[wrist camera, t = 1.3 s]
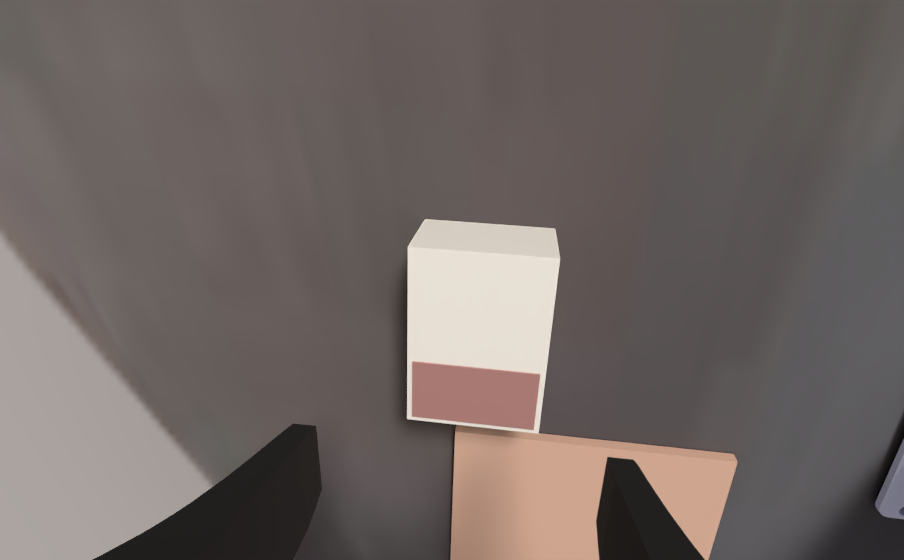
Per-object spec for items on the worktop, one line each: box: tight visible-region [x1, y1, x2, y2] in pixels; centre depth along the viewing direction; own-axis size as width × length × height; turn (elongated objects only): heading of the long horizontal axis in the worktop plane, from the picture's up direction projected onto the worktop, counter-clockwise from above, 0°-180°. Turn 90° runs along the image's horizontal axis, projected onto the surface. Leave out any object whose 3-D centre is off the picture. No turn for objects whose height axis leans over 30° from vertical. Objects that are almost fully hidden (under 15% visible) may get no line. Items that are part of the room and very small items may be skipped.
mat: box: [450, 425, 738, 560], centre depth 25 cm, size 12×10×1 cm
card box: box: [407, 219, 560, 434], centre depth 20 cm, size 5×7×4 cm
